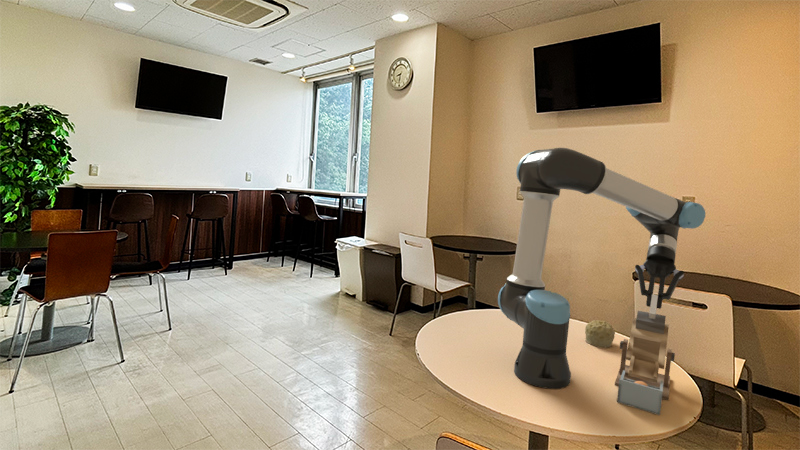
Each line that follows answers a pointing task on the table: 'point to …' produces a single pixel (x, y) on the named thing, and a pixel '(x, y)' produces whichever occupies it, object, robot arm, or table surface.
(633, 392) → the blue open box
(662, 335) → the lever
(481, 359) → the table surface
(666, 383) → the catapult stand
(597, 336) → the decorative item
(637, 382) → the ball
